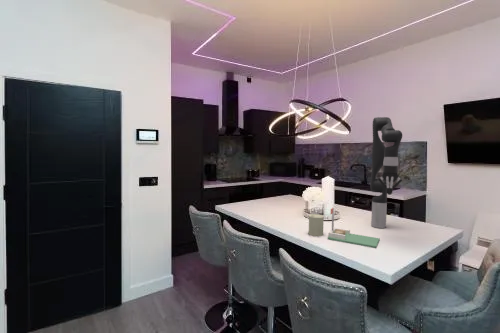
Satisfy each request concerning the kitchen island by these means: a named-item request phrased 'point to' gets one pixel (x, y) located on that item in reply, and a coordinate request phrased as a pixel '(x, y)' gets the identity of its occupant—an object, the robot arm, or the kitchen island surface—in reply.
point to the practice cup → (332, 232)
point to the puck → (340, 231)
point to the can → (316, 225)
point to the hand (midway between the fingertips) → (389, 194)
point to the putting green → (359, 240)
